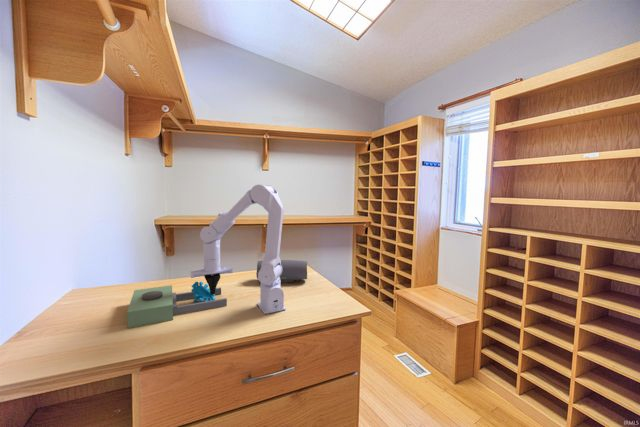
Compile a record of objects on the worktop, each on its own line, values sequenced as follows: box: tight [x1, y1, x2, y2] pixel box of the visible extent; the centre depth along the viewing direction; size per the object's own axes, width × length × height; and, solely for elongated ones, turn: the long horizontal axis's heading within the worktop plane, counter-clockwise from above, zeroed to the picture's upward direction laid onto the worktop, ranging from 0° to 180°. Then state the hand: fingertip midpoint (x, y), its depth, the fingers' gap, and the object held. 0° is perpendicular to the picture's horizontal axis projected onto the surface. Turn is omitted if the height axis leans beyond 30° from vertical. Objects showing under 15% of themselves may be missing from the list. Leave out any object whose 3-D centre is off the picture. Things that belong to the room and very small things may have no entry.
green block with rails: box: [126, 284, 228, 329], centre depth 97 cm, size 20×29×6 cm
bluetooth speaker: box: [255, 259, 308, 283], centre depth 126 cm, size 23×9×10 cm, turn 94°
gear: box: [190, 281, 216, 303], centre depth 101 cm, size 11×6×10 cm
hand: (212, 293), depth 102 cm, fingers closed
